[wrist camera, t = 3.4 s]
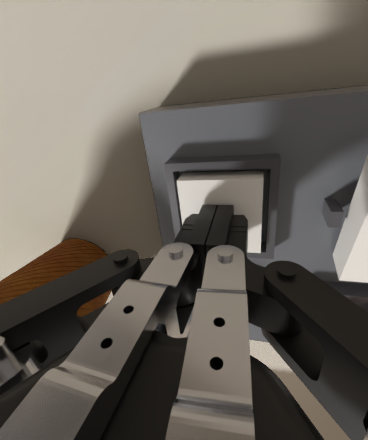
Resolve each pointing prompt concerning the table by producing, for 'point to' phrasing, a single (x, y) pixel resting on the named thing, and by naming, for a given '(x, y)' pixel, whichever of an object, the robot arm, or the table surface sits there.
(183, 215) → the paddle
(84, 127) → the table surface
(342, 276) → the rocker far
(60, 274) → the disposable coffee cup
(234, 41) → the table surface
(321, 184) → the panel
